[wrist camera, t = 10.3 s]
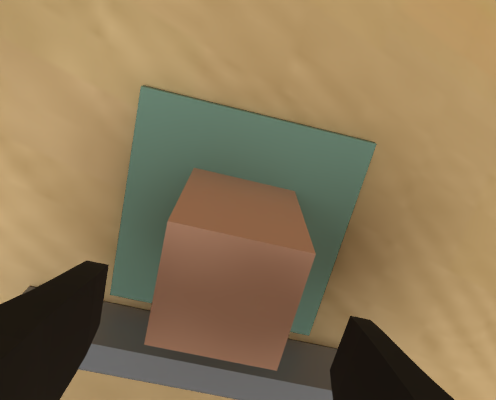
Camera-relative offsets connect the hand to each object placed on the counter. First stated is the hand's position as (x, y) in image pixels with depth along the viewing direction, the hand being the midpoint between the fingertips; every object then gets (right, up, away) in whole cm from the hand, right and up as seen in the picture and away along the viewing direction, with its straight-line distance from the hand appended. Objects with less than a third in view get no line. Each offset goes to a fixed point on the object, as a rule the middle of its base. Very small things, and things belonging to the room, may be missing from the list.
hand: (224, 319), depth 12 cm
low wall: (-2, -3, +9) cm, 10 cm away
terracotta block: (0, +2, +7) cm, 7 cm away
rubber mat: (0, +2, +7) cm, 7 cm away
